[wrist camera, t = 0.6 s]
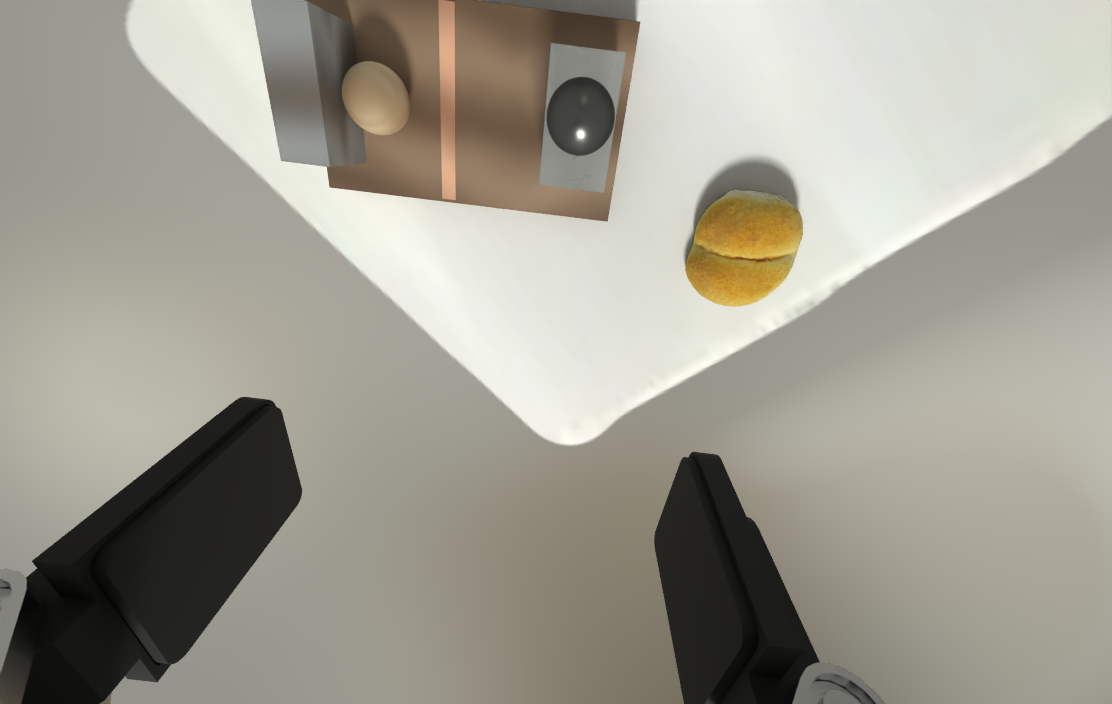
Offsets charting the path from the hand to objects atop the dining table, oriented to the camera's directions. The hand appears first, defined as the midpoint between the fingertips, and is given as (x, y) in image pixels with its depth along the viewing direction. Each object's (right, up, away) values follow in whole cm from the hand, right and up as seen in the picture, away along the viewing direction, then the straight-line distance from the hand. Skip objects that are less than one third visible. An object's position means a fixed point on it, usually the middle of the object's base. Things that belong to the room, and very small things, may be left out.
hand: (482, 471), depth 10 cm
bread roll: (+17, +12, +24) cm, 31 cm away
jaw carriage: (+3, +18, +18) cm, 26 cm away
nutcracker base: (-4, +20, +20) cm, 29 cm away
